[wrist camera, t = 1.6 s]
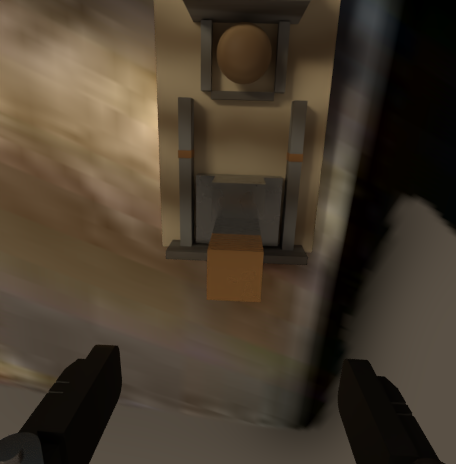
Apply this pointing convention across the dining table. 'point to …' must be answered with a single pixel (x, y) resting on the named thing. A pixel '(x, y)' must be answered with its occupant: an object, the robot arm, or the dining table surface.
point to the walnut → (244, 53)
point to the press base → (243, 113)
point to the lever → (237, 231)
